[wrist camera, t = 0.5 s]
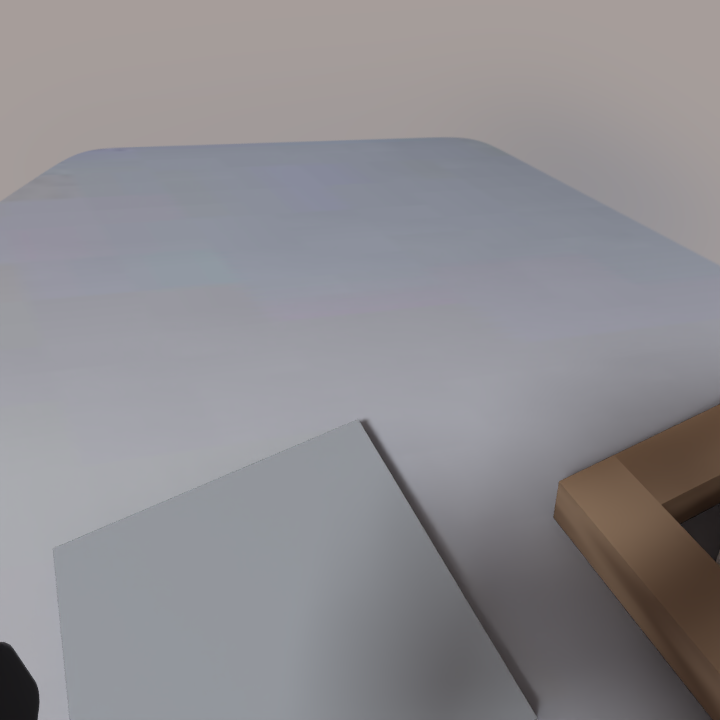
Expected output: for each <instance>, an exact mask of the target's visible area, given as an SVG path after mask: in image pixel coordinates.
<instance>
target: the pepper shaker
mask: <svg viewBox="0 0 720 720" xmlns="http://www.w3.org/2000/svg"><path fill="white" fill-rule="evenodd" d="M716 563H717V564H718V565H719V566H720V551H719V554H718V557H717V560H716Z"/></svg>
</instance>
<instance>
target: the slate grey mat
mask: <svg viewBox="0 0 720 720" xmlns="http://www.w3.org/2000/svg"><path fill="white" fill-rule="evenodd" d="M53 556H54V566H55V576H56V587H57V597H58V607H59V617H60V628H61V638H62V648H63V658H64V669H65V679H66V689H67V699H68V710H69V720H537V716H536V715H535V713H534V711H533V710H532V708H531V706H530V705H529V703H528V701H527V700H526V698H525V696H524V695H523V693H522V691H521V690H520V688H519V686H518V685H517V683H516V681H515V680H514V678H513V676H512V675H511V673H510V671H509V670H508V668H507V666H506V665H505V663H504V661H503V660H502V658H501V656H500V655H499V653H498V651H497V650H496V648H495V646H494V645H493V643H492V641H491V640H490V638H489V636H488V635H487V633H486V631H485V630H484V628H483V626H482V625H481V623H480V621H479V620H478V618H477V616H476V615H475V613H474V611H473V610H472V608H471V606H470V605H469V603H468V601H467V600H466V598H465V596H464V595H463V593H462V591H461V590H460V588H459V586H458V585H457V583H456V581H455V580H454V578H453V576H452V575H451V573H450V571H449V570H448V568H447V566H446V565H445V563H444V561H443V560H442V558H441V556H440V555H439V553H438V551H437V550H436V548H435V546H434V545H433V543H432V541H431V540H430V538H429V536H428V535H427V533H426V531H425V530H424V528H423V526H422V525H421V523H420V521H419V520H418V518H417V516H416V515H415V513H414V511H413V510H412V508H411V506H410V505H409V503H408V501H407V500H406V498H405V496H404V495H403V493H402V491H401V490H400V488H399V486H398V485H397V483H396V481H395V480H394V478H393V477H392V475H391V473H390V472H389V470H388V468H387V467H386V465H385V463H384V462H383V460H382V458H381V457H380V455H379V453H378V452H377V450H376V448H375V447H374V445H373V443H372V442H371V440H370V438H369V437H368V435H367V433H366V432H365V430H364V428H363V427H362V425H361V423H360V422H359V420H358V419H357V420H355V421H353V422H350V423H348V424H345V425H343V426H341V427H338V428H336V429H334V430H331V431H329V432H327V433H324V434H322V435H320V436H317V437H315V438H312V439H310V440H308V441H305V442H303V443H301V444H298V445H296V446H294V447H291V448H289V449H286V450H284V451H282V452H279V453H277V454H275V455H272V456H270V457H268V458H265V459H263V460H260V461H258V462H256V463H253V464H251V465H249V466H246V467H244V468H242V469H239V470H237V471H235V472H232V473H230V474H227V475H225V476H223V477H220V478H218V479H216V480H213V481H211V482H209V483H206V484H204V485H201V486H199V487H197V488H194V489H192V490H190V491H187V492H185V493H183V494H180V495H178V496H176V497H173V498H171V499H168V500H166V501H164V502H161V503H159V504H157V505H154V506H152V507H150V508H147V509H145V510H142V511H140V512H138V513H135V514H133V515H131V516H128V517H126V518H124V519H121V520H119V521H116V522H114V523H112V524H109V525H107V526H105V527H102V528H100V529H98V530H95V531H93V532H91V533H88V534H86V535H83V536H81V537H79V538H76V539H74V540H72V541H69V542H67V543H65V544H62V545H60V546H57V547H55V548H53Z"/></svg>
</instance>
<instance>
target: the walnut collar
mask: <svg viewBox="0 0 720 720" xmlns="http://www.w3.org/2000/svg"><path fill="white" fill-rule="evenodd" d="M719 503H720V404H719V405H717V406H715V407H713V408H711V409H709V410H707V411H705V412H703V413H700V414H698V415H696V416H694V417H692V418H690V419H688V420H686V421H684V422H682V423H680V424H678V425H675V426H673V427H671V428H669V429H667V430H665V431H663V432H661V433H659V434H657V435H655V436H653V437H650V438H648V439H646V440H644V441H642V442H640V443H638V444H636V445H634V446H632V447H630V448H628V449H625V450H623V451H621V452H619V453H617V454H615V455H613V456H611V457H609V458H607V459H605V460H603V461H601V462H598V463H596V464H594V465H592V466H590V467H588V468H586V469H584V470H582V471H580V472H578V473H576V474H573V475H571V476H569V477H567V478H565V479H563V480H561V481H559V485H558V491H557V498H556V504H555V510H554V516H553V517H554V519H555V520H556V521H557V522H558V524H559V525H560V526H561V528H562V529H563V530H564V531H565V533H566V534H567V535H568V536H569V538H570V539H571V540H572V542H573V543H574V544H575V545H576V547H577V548H578V549H579V550H580V552H581V553H582V554H583V556H584V557H585V558H586V559H587V561H588V562H589V563H590V564H591V566H592V567H593V568H594V570H595V571H596V572H597V573H598V575H599V576H600V577H601V578H602V580H603V581H604V582H605V584H606V585H607V586H608V587H609V589H610V590H611V591H612V592H613V594H614V595H615V596H616V597H617V599H618V600H619V601H620V603H621V604H622V605H623V606H624V608H625V609H626V610H627V611H628V613H629V614H630V615H631V617H632V618H633V619H634V620H635V622H636V623H637V624H638V625H639V627H640V628H641V629H642V631H643V632H644V633H645V634H646V636H647V637H648V638H649V639H650V641H651V642H652V643H653V645H654V646H655V647H656V648H657V650H658V651H659V652H660V653H661V655H662V656H663V657H664V659H665V660H666V661H667V662H668V664H669V665H670V666H671V667H672V669H673V670H674V671H675V672H676V674H677V675H678V676H679V678H680V679H681V680H682V681H683V683H684V684H685V685H686V686H687V688H688V689H689V690H690V692H691V693H692V694H693V695H694V697H695V698H696V699H697V700H698V702H699V703H700V704H701V706H702V707H703V708H704V709H705V711H706V712H707V713H708V714H709V716H710V717H711V718H712V720H720V566H719V565H718V564H717V563H716V562H715V561H714V560H713V559H712V558H711V557H710V555H709V554H708V553H707V552H706V551H705V550H704V549H703V548H702V547H701V546H700V545H699V544H698V543H697V542H696V541H695V540H694V539H693V538H692V537H691V535H690V534H689V533H688V532H687V531H686V530H685V529H684V528H683V527H682V526H681V525H680V524H681V523H683V522H684V521H686V520H688V519H690V518H692V517H694V516H696V515H698V514H700V513H702V512H704V511H706V510H707V509H709V508H711V507H713V506H715V505H717V504H719Z"/></svg>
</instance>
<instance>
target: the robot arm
mask: <svg viewBox="0 0 720 720" xmlns="http://www.w3.org/2000/svg"><path fill="white" fill-rule="evenodd" d="M38 712H39V691H38V687H37V684H36V682H35V680H34V679H33V677H32V676H31V674H30V673H29V671H28V670H27V668H26V667H25V665H24V664H23V662H22V661H21V659H20V658H19V656H18V655H17V653H16V652H15V650H14V649H13V648H12V646H11V645H9V644H7V643H5V642H0V720H38Z"/></svg>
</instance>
